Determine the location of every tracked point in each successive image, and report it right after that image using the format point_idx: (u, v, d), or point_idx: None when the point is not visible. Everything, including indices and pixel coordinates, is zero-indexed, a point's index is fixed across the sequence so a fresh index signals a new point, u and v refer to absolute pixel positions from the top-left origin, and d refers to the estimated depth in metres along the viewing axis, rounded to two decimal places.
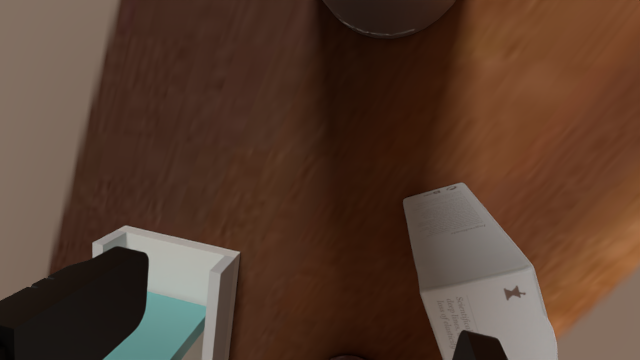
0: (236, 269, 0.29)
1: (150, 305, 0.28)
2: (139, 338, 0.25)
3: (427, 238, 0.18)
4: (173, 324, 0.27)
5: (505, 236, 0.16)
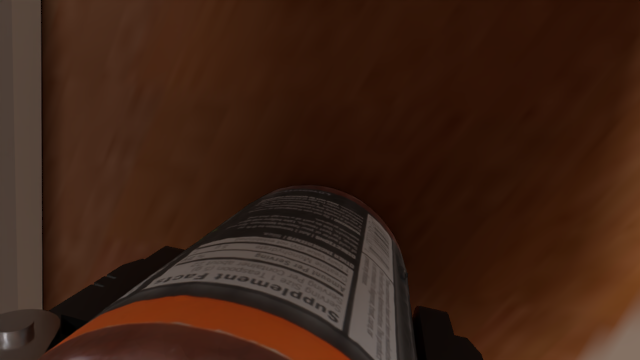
0: None
1: None
2: None
3: None
4: None
5: None
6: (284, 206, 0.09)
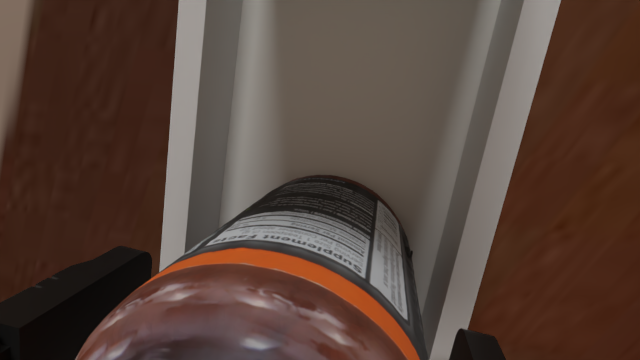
0: None
1: None
2: None
3: None
4: None
5: None
6: (306, 190, 0.10)
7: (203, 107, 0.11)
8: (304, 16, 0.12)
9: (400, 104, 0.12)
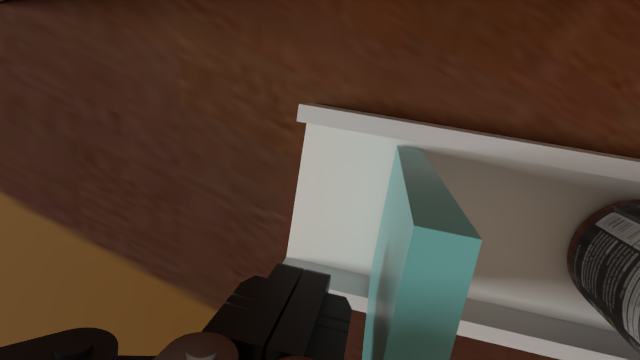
0: (334, 107, 0.20)
1: (380, 230, 0.19)
2: (385, 224, 0.15)
3: None
4: (391, 185, 0.17)
5: None
6: (594, 278, 0.16)
7: (523, 330, 0.18)
8: None
9: (519, 202, 0.19)
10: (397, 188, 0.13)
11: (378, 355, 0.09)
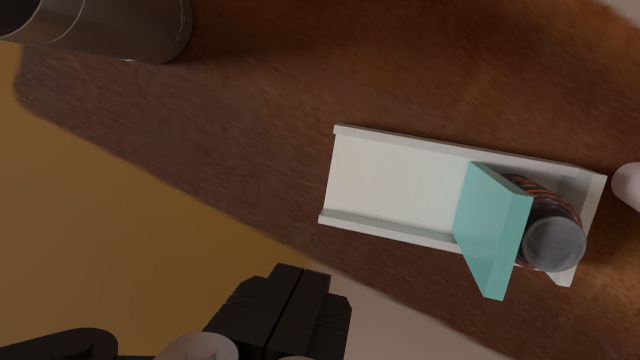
0: (351, 125, 0.38)
1: (461, 207, 0.35)
2: (472, 201, 0.32)
3: None
4: (471, 182, 0.33)
5: None
6: None
7: (449, 241, 0.36)
8: (417, 206, 0.38)
9: (449, 175, 0.37)
10: (485, 183, 0.29)
11: (494, 240, 0.25)
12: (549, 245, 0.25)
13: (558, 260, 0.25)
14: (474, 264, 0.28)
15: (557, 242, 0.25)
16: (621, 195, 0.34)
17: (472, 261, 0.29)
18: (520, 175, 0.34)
